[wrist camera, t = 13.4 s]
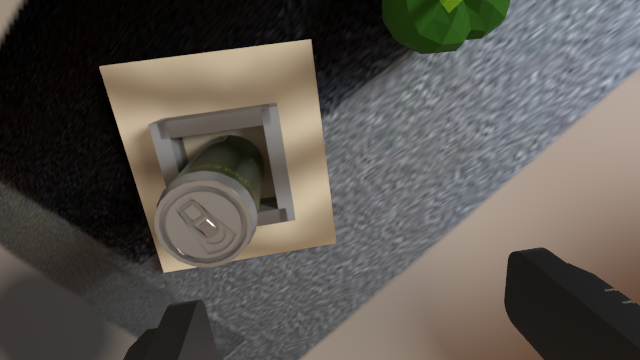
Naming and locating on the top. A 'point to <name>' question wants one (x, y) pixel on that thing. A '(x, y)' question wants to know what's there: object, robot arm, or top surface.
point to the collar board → (231, 133)
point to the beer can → (212, 204)
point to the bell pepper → (441, 22)
